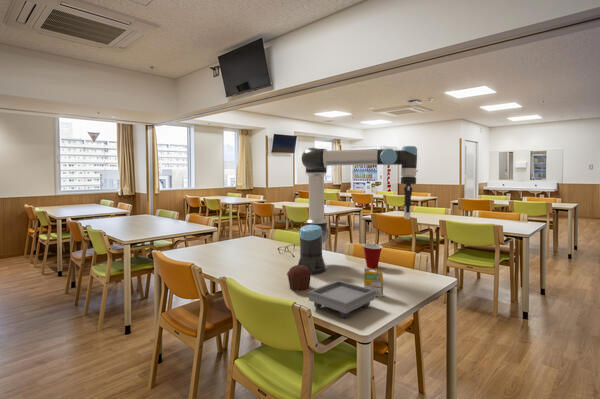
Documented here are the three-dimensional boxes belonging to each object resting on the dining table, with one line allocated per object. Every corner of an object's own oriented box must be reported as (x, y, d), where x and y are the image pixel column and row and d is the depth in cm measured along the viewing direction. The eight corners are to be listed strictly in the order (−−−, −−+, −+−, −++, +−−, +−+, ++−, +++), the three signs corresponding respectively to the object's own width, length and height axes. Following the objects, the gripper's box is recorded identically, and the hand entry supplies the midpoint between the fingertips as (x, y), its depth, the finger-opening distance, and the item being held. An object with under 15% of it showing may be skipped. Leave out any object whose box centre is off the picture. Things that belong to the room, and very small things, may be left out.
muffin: (315, 290, 152) (315, 268, 151) (291, 293, 148) (290, 271, 148) (307, 282, 163) (306, 261, 162) (284, 284, 160) (284, 263, 159)
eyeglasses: (295, 249, 232) (295, 243, 232) (311, 253, 221) (311, 247, 220) (276, 253, 221) (276, 247, 221) (292, 258, 209) (292, 251, 209)
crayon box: (383, 294, 145) (383, 267, 144) (381, 297, 142) (381, 269, 141) (365, 292, 148) (365, 266, 147) (364, 294, 145) (364, 268, 144)
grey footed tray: (309, 307, 133) (308, 291, 132) (338, 295, 145) (338, 280, 145) (346, 321, 120) (346, 303, 119) (375, 306, 132) (375, 290, 132)
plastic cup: (383, 270, 180) (383, 247, 179) (362, 269, 182) (362, 247, 181) (382, 264, 190) (382, 243, 189) (362, 263, 192) (362, 242, 191)
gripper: (417, 176, 164) (415, 220, 165) (414, 176, 188) (413, 215, 189) (401, 176, 166) (399, 219, 167) (400, 176, 190) (399, 214, 191)
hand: (406, 217), depth 178 cm, fingers open, 13 cm apart
